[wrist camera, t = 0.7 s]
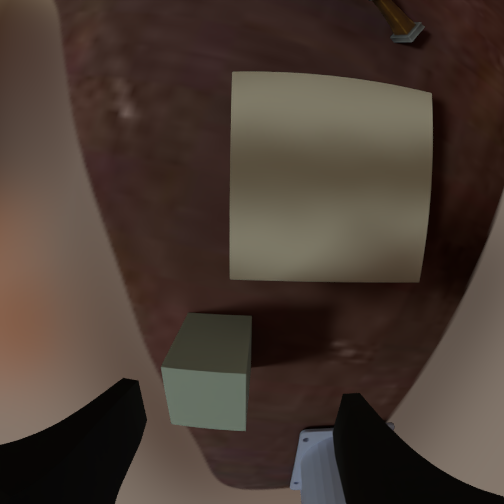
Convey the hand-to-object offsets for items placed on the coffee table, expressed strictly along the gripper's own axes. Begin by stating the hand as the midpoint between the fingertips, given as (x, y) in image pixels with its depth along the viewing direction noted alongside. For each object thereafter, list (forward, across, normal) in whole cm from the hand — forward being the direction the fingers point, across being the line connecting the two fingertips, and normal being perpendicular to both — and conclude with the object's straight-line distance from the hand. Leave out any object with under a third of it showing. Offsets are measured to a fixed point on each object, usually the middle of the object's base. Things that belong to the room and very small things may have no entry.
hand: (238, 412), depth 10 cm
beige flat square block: (+9, -4, -8) cm, 13 cm away
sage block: (+10, +2, +3) cm, 10 cm away
